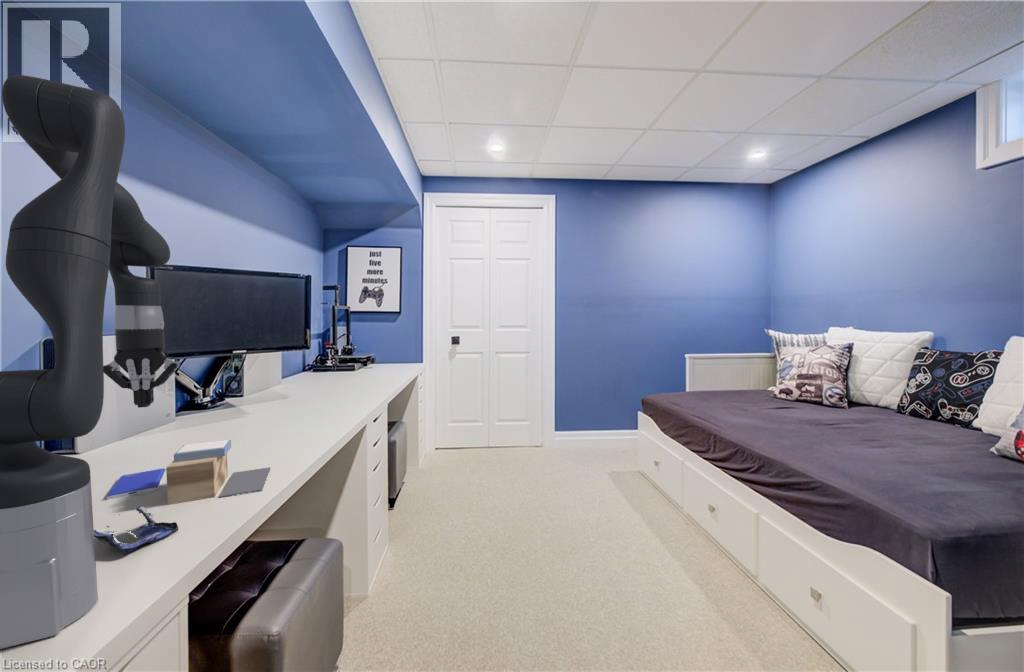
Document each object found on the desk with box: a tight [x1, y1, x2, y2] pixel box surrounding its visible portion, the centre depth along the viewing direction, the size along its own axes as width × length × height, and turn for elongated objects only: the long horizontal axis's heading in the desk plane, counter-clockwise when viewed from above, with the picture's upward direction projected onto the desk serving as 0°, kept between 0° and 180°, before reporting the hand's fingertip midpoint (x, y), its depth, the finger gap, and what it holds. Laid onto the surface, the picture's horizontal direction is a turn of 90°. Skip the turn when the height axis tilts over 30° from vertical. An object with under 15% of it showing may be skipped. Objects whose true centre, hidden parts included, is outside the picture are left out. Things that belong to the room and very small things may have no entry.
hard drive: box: [106, 468, 166, 501], centre depth 90 cm, size 2×8×12 cm
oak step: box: [165, 453, 229, 505], centre depth 88 cm, size 12×8×8 cm, turn 26°
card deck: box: [173, 439, 232, 463], centre depth 88 cm, size 6×9×2 cm
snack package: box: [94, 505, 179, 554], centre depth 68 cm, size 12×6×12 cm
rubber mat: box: [218, 467, 272, 499], centre depth 92 cm, size 14×8×1 cm, turn 26°
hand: (144, 406), depth 83 cm, fingers closed
